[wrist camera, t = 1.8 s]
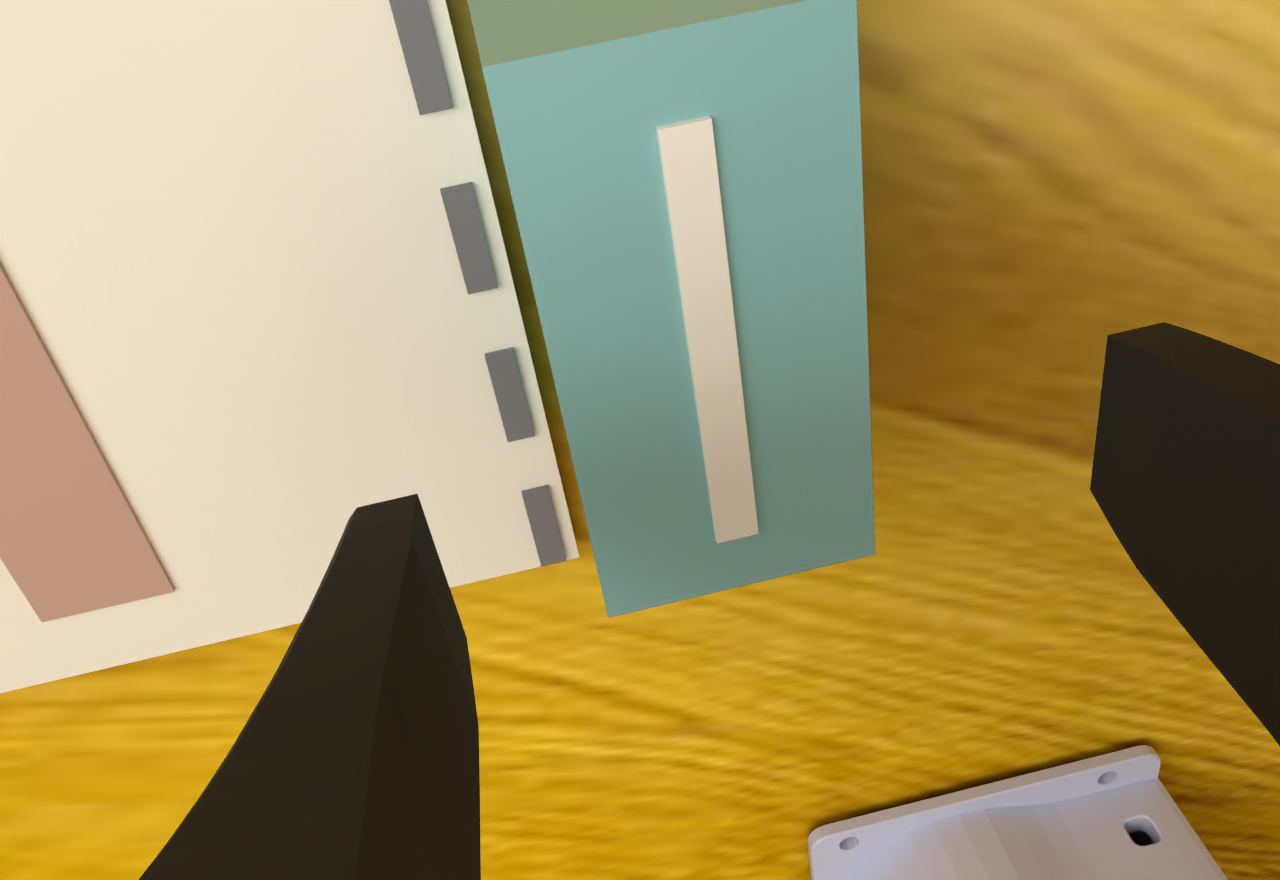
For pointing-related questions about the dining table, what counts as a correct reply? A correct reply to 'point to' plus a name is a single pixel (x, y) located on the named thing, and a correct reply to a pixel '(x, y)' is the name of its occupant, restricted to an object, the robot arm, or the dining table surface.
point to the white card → (245, 320)
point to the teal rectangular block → (695, 276)
